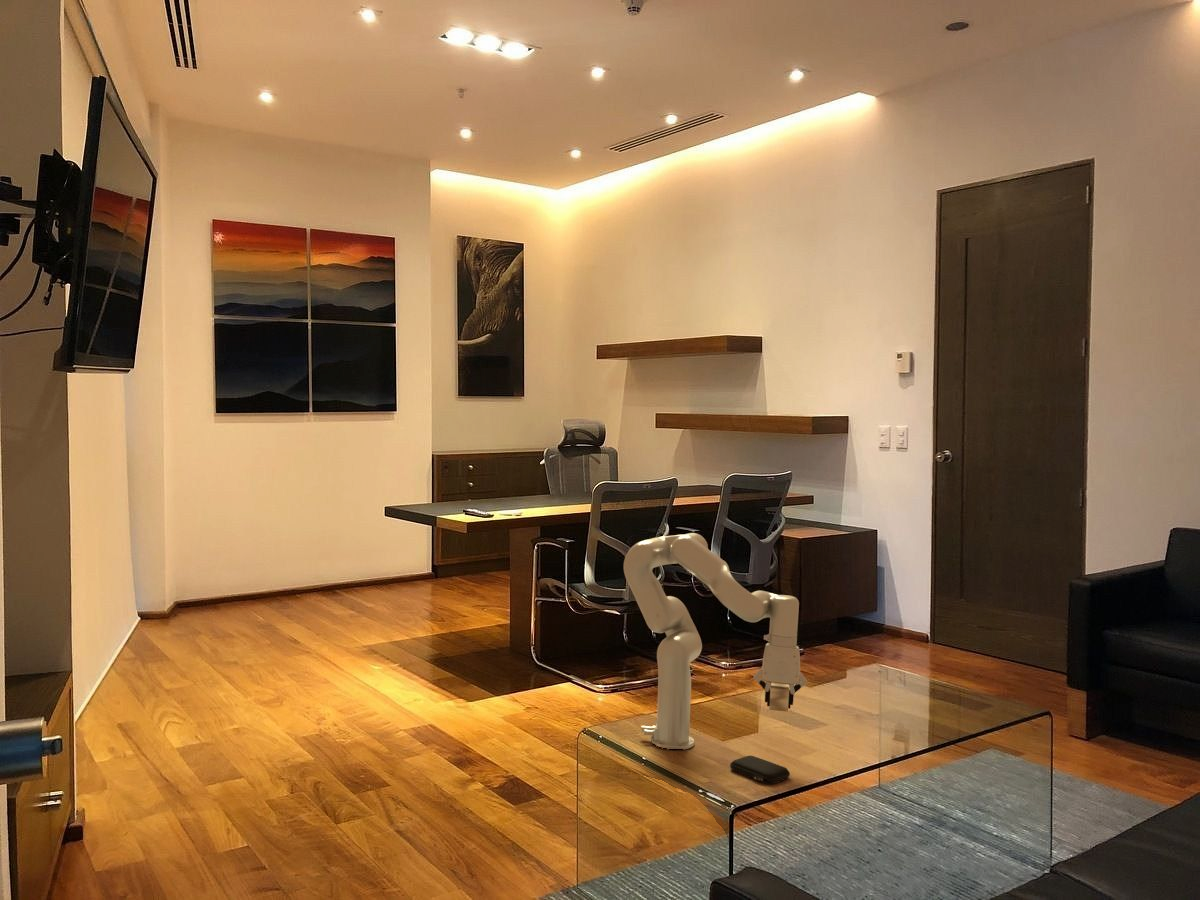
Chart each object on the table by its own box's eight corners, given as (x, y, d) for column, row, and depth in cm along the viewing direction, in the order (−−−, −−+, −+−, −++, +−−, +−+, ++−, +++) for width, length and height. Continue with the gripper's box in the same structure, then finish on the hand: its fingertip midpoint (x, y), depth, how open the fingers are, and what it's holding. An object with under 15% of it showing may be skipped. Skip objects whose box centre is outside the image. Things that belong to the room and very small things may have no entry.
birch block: (769, 709, 258) (770, 688, 258) (769, 704, 263) (770, 683, 263) (787, 711, 257) (789, 690, 257) (787, 706, 262) (788, 685, 262)
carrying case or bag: (723, 771, 253) (767, 788, 242) (724, 760, 253) (768, 777, 242) (748, 763, 260) (792, 779, 249) (749, 752, 260) (793, 768, 249)
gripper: (751, 640, 257) (747, 706, 258) (814, 646, 254) (810, 713, 255) (751, 634, 265) (747, 699, 265) (813, 640, 262) (809, 705, 262)
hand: (778, 705), depth 260 cm, fingers closed on birch block, 5 cm apart
